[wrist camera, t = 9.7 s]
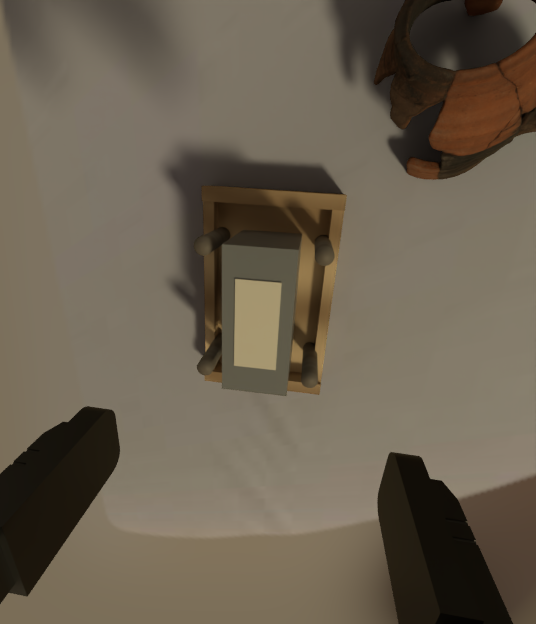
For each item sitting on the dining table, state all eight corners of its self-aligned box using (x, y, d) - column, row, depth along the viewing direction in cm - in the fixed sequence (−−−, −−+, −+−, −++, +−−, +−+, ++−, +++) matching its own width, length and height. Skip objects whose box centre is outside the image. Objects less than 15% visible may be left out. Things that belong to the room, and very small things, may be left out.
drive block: (243, 229, 25) (221, 244, 19) (302, 233, 25) (298, 250, 19) (241, 345, 29) (221, 389, 23) (292, 351, 28) (286, 397, 22)
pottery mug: (361, 184, 24) (358, 101, 17) (391, 67, 25) (401, -65, 17) (555, 203, 21) (669, 108, 13) (585, 65, 21) (710, -105, 13)
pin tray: (211, 185, 25) (183, 186, 20) (343, 194, 24) (352, 197, 19) (213, 365, 31) (191, 405, 26) (318, 378, 30) (320, 422, 25)
